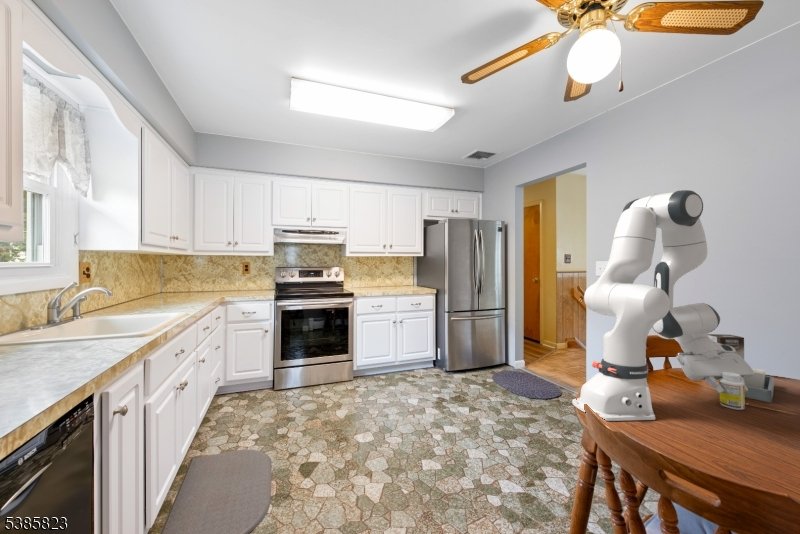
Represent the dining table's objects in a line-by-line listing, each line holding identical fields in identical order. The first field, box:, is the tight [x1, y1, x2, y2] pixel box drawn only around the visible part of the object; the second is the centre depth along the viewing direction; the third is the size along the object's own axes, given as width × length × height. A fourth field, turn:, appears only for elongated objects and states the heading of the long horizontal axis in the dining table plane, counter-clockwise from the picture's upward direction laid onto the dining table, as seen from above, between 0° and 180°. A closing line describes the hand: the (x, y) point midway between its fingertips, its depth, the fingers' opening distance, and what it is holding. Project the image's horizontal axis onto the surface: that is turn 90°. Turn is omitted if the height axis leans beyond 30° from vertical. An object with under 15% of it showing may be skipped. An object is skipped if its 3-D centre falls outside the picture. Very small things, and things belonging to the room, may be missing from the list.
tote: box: [745, 375, 775, 403], centre depth 112 cm, size 20×11×4 cm, turn 129°
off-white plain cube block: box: [744, 367, 766, 389], centre depth 115 cm, size 6×7×6 cm
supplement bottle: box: [718, 372, 746, 411], centre depth 101 cm, size 6×6×10 cm
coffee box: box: [708, 333, 745, 360], centre depth 129 cm, size 9×6×16 cm
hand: (733, 391), depth 100 cm, fingers closed on supplement bottle, 6 cm apart
